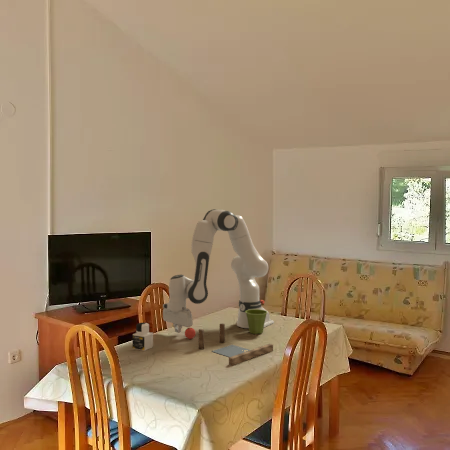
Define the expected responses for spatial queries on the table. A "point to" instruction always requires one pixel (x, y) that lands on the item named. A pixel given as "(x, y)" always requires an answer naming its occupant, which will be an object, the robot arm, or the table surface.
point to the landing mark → (230, 350)
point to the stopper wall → (250, 354)
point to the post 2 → (222, 333)
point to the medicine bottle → (142, 337)
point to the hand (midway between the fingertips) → (177, 332)
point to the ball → (190, 333)
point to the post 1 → (201, 339)
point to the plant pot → (256, 320)
